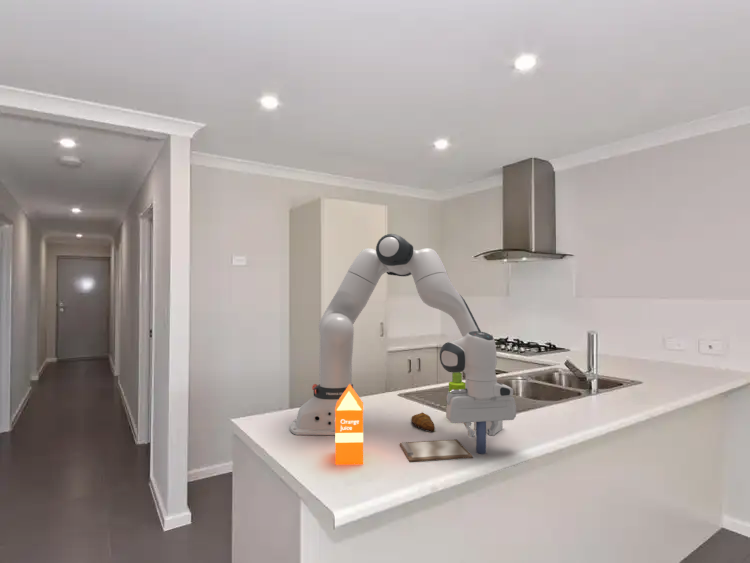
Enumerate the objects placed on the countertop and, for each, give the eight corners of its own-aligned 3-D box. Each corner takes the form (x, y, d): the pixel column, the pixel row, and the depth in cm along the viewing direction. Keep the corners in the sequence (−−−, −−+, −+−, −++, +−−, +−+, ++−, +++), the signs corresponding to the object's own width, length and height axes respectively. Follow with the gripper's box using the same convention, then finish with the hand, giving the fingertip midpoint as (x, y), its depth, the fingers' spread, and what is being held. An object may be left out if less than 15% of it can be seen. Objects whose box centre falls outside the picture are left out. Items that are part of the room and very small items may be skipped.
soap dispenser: (468, 422, 153) (468, 365, 153) (448, 421, 154) (448, 364, 154) (468, 417, 158) (468, 362, 159) (449, 416, 160) (449, 362, 160)
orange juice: (363, 451, 127) (363, 383, 127) (363, 464, 118) (363, 390, 118) (336, 452, 126) (336, 383, 126) (334, 464, 118) (334, 390, 118)
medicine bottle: (483, 424, 150) (482, 390, 150) (502, 429, 146) (502, 393, 146) (473, 430, 145) (473, 394, 145) (493, 435, 140) (493, 397, 140)
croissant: (404, 422, 154) (404, 408, 154) (420, 420, 157) (420, 406, 157) (423, 434, 141) (423, 419, 142) (441, 431, 144) (441, 416, 144)
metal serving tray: (409, 462, 119) (409, 456, 119) (399, 444, 132) (399, 439, 132) (472, 457, 122) (472, 452, 122) (456, 441, 135) (456, 436, 135)
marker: (478, 454, 124) (478, 412, 124) (474, 450, 127) (474, 409, 127) (488, 453, 125) (487, 411, 125) (483, 450, 128) (483, 409, 128)
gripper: (449, 392, 121) (450, 442, 121) (518, 389, 125) (518, 437, 125) (442, 387, 128) (443, 434, 128) (508, 384, 131) (508, 430, 131)
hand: (481, 436), depth 126 cm, fingers open, 5 cm apart
